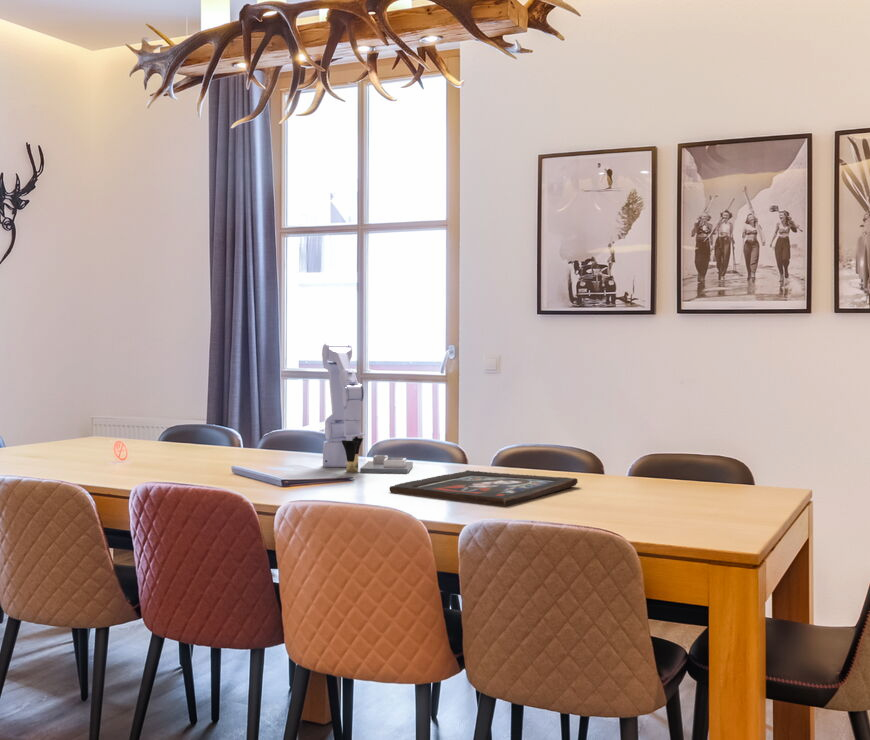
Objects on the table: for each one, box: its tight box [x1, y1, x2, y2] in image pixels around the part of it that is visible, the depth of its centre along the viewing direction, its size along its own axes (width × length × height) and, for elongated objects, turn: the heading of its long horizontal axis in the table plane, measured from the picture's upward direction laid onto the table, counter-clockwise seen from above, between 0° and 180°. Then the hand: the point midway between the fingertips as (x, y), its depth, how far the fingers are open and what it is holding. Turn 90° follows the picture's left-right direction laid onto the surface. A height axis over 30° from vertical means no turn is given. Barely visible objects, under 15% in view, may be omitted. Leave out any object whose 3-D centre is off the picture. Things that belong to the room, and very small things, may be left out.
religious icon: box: [388, 470, 579, 507], centre depth 259 cm, size 40×45×3 cm
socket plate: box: [359, 454, 414, 475], centre depth 303 cm, size 16×20×4 cm
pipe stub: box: [345, 454, 359, 474], centre depth 296 cm, size 4×4×6 cm
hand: (352, 460), depth 296 cm, fingers open, 7 cm apart
